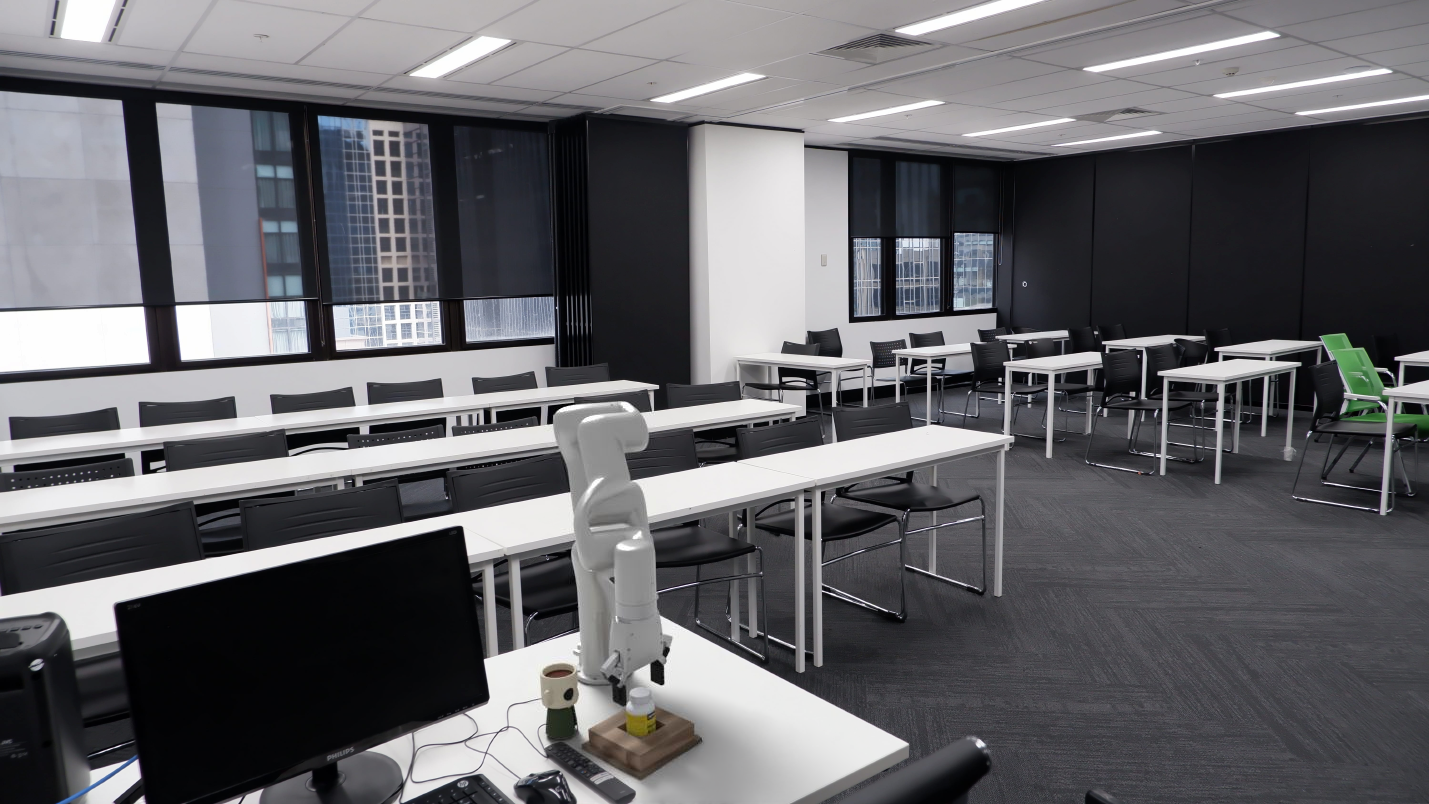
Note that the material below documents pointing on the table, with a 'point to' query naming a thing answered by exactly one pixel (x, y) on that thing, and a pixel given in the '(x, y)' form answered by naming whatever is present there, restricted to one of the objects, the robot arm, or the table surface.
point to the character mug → (560, 698)
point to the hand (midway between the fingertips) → (639, 693)
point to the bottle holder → (641, 743)
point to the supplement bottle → (640, 713)
